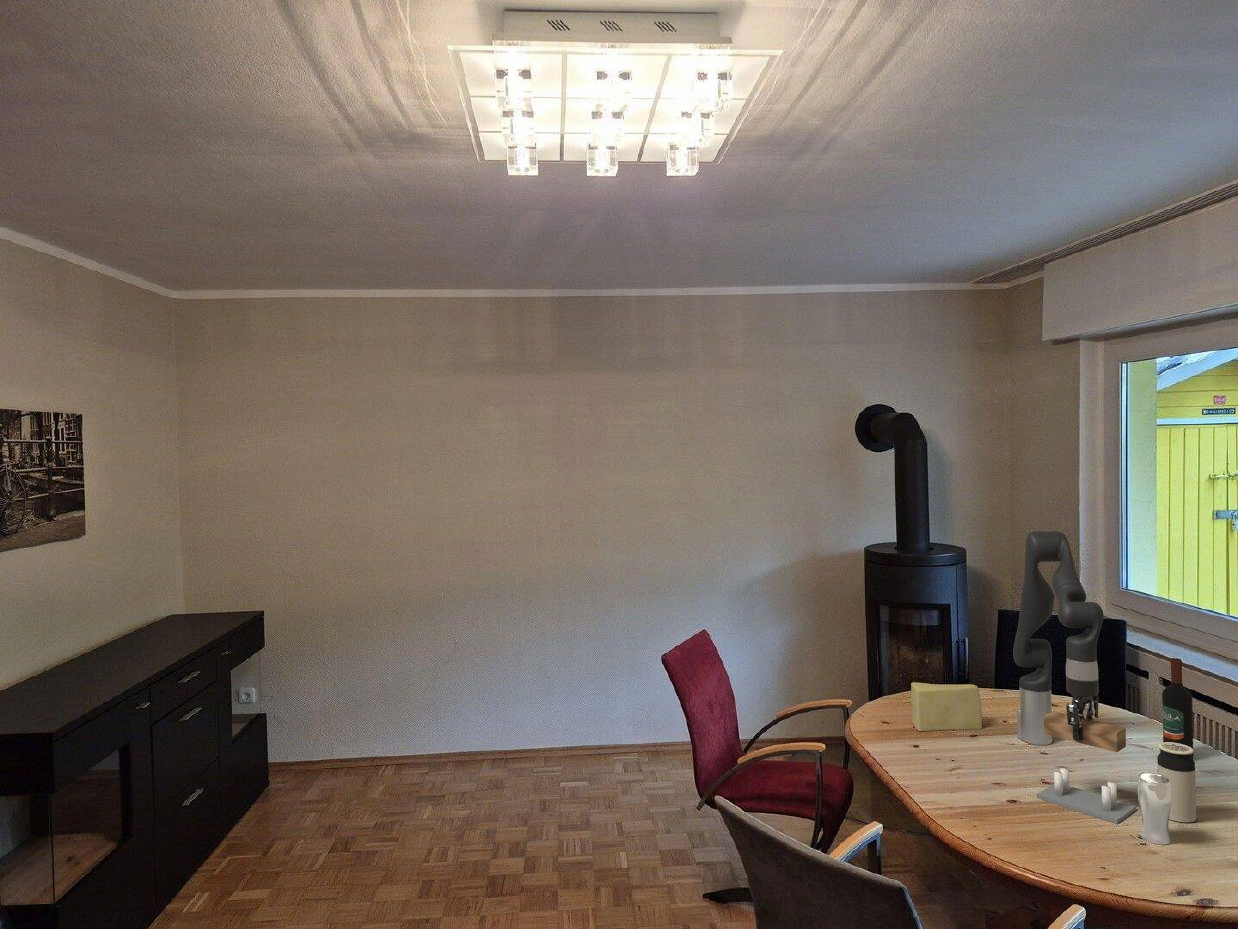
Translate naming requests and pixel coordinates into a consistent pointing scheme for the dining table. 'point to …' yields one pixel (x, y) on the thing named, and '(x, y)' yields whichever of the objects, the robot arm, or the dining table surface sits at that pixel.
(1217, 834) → the dining table surface
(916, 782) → the dining table surface
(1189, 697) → the wine bottle
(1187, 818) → the travel mug
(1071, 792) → the peg stand
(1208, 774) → the dining table surface
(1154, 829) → the beer glass
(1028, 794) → the dining table surface
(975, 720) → the cheese
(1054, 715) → the plank
